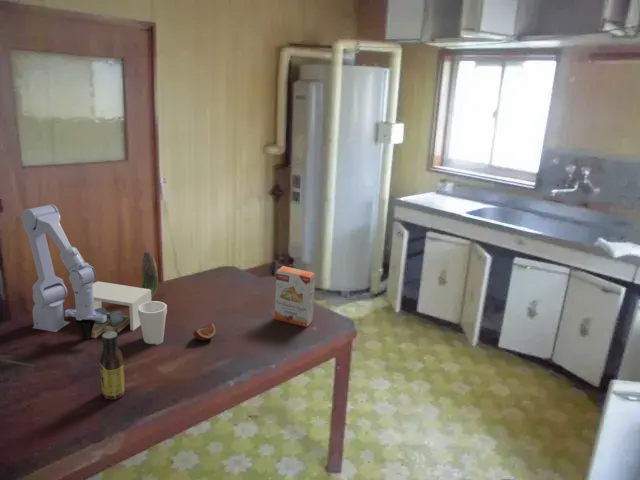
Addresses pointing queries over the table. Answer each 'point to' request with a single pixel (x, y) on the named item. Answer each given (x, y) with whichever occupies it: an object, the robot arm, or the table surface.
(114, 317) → the grey-blue tapered cylinder
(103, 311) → the pale blue rounded cylinder
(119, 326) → the serving board
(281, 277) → the cracker box
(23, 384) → the table surface
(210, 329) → the fruit slice
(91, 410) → the table surface
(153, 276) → the vegetable
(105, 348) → the sauce bottle
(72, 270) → the robot arm
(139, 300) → the shelf
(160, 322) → the foam cup
